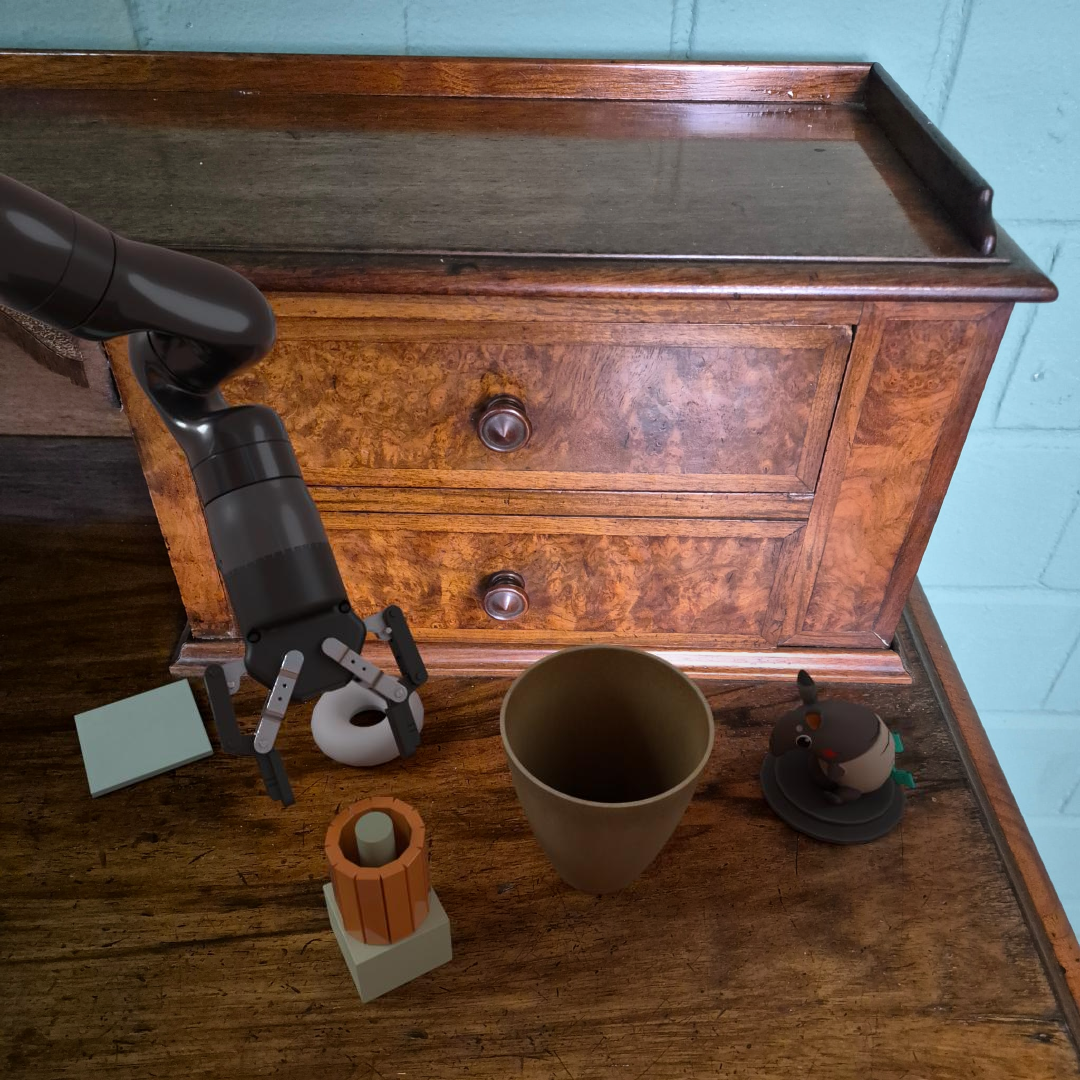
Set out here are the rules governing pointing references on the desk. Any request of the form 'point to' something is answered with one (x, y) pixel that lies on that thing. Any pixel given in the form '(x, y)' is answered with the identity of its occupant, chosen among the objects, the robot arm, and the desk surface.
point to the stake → (394, 962)
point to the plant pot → (604, 758)
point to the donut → (352, 740)
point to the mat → (141, 737)
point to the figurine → (834, 770)
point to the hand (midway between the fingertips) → (351, 780)
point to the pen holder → (380, 875)
